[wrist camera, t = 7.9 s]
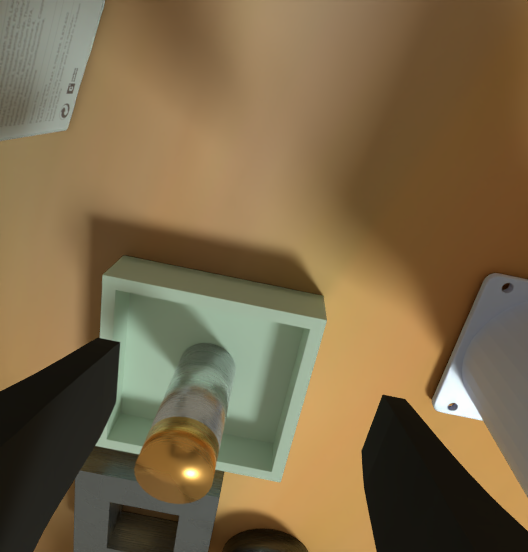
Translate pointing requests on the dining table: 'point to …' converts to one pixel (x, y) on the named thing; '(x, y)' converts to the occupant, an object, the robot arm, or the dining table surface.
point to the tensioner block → (148, 530)
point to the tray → (220, 331)
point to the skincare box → (43, 62)
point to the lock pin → (188, 427)
